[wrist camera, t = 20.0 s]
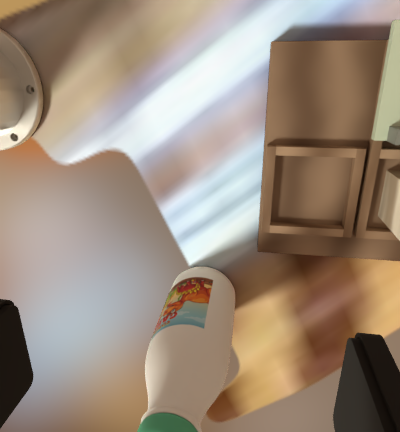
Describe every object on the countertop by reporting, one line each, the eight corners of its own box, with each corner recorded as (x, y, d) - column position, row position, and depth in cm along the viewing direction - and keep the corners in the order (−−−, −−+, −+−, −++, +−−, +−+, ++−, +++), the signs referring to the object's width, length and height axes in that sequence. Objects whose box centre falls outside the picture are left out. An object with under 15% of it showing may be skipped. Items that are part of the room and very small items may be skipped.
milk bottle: (241, 271, 41) (229, 431, 22) (230, 324, 44) (211, 504, 25) (176, 258, 42) (112, 404, 23) (169, 311, 44) (108, 478, 26)
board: (257, 243, 39) (257, 256, 36) (270, 43, 32) (272, 40, 29) (432, 254, 37) (446, 268, 34) (491, 40, 29) (515, 37, 27)
